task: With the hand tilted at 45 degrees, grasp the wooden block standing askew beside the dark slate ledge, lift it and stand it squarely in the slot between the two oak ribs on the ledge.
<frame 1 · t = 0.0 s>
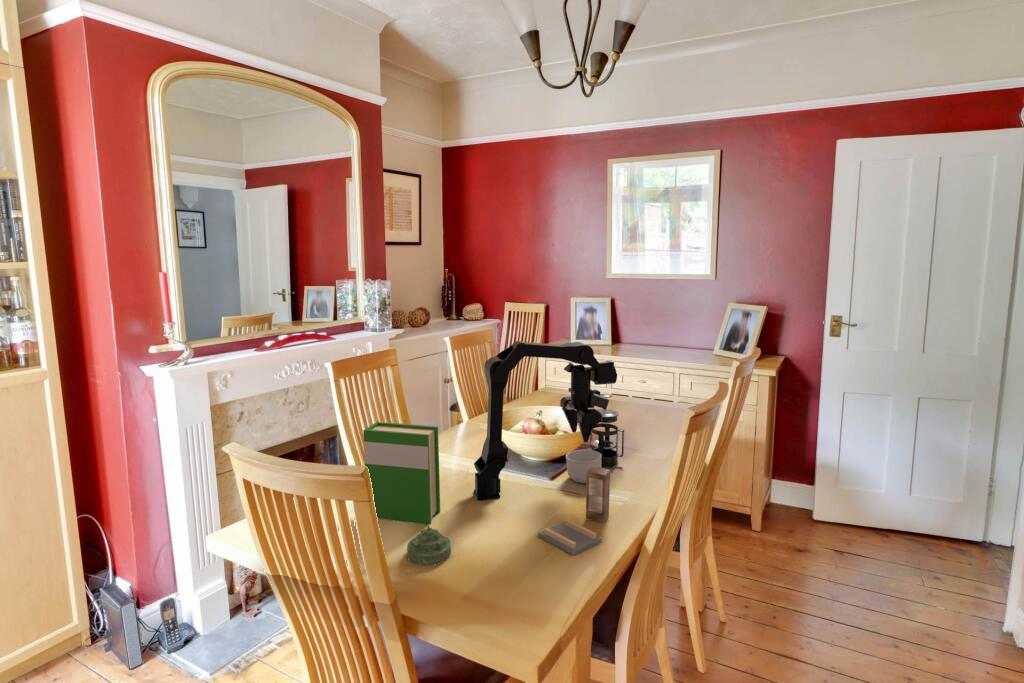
hand: (579, 437, 173), 15 cm above the table, tool pointing down, fingers open, 9 cm apart
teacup: (585, 478, 180), on the table
wooden block: (597, 517, 154), on the table
decorative artifact: (429, 555, 136), on the table
ledge: (569, 538, 143), on the table
hardback book: (404, 515, 156), on the table
french press: (605, 463, 192), on the table
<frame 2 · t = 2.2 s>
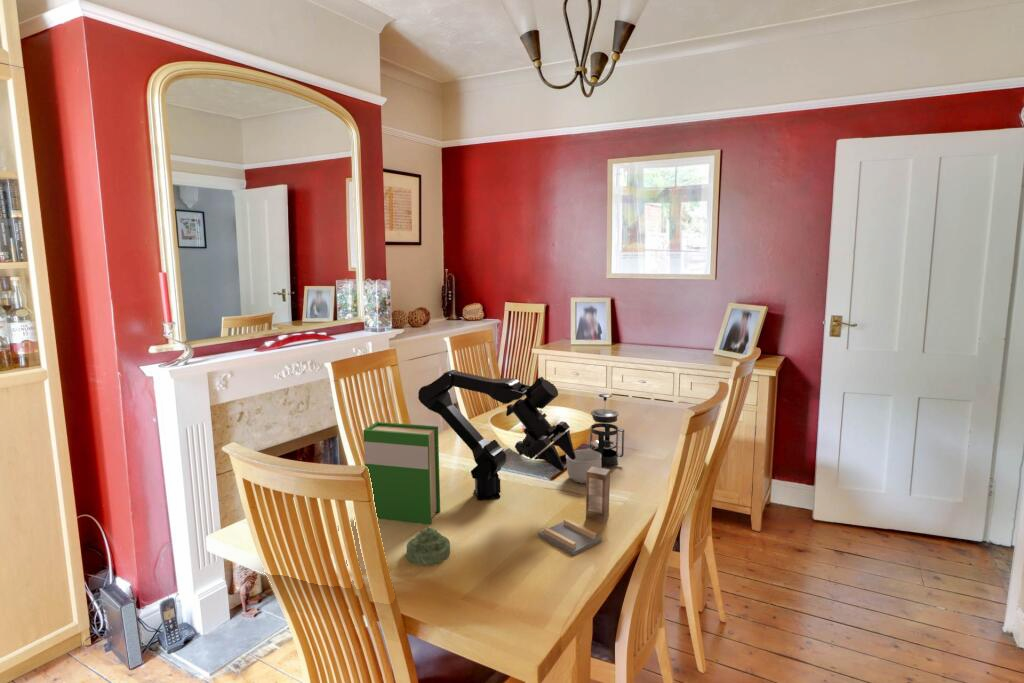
hand: (568, 464, 155), 13 cm above the table, tool tilted 45°, fingers open, 9 cm apart
nothing on the table moved.
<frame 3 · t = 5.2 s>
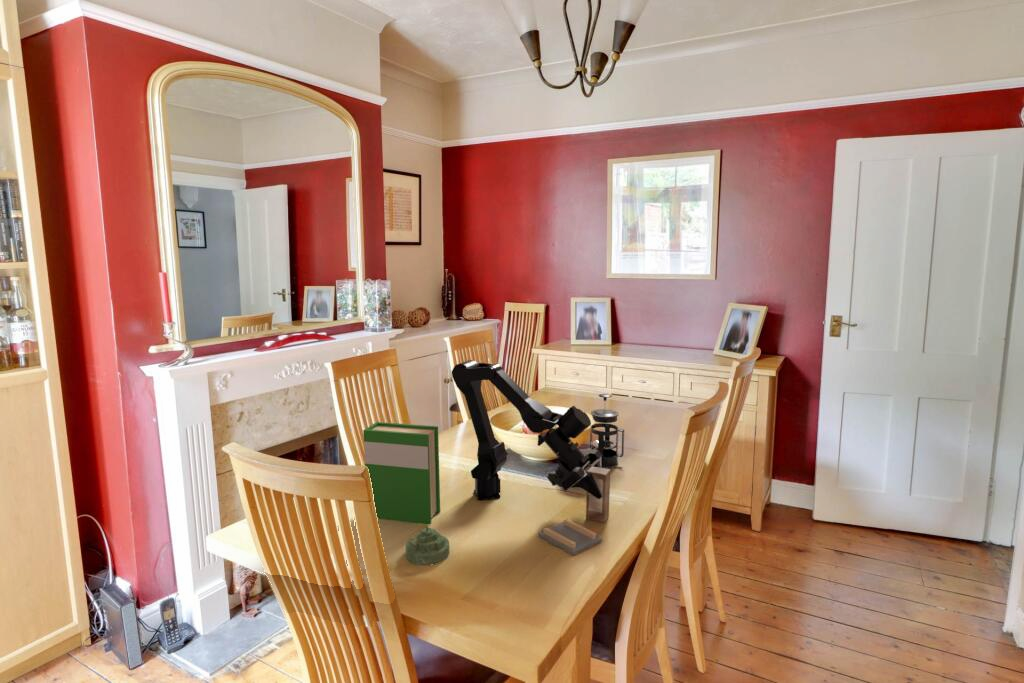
hand: (603, 494, 152), 7 cm above the table, tool tilted 45°, fingers closed on wooden block, 4 cm apart
wooden block: (597, 517, 154), on the table, touching gripper
everything else where it was.
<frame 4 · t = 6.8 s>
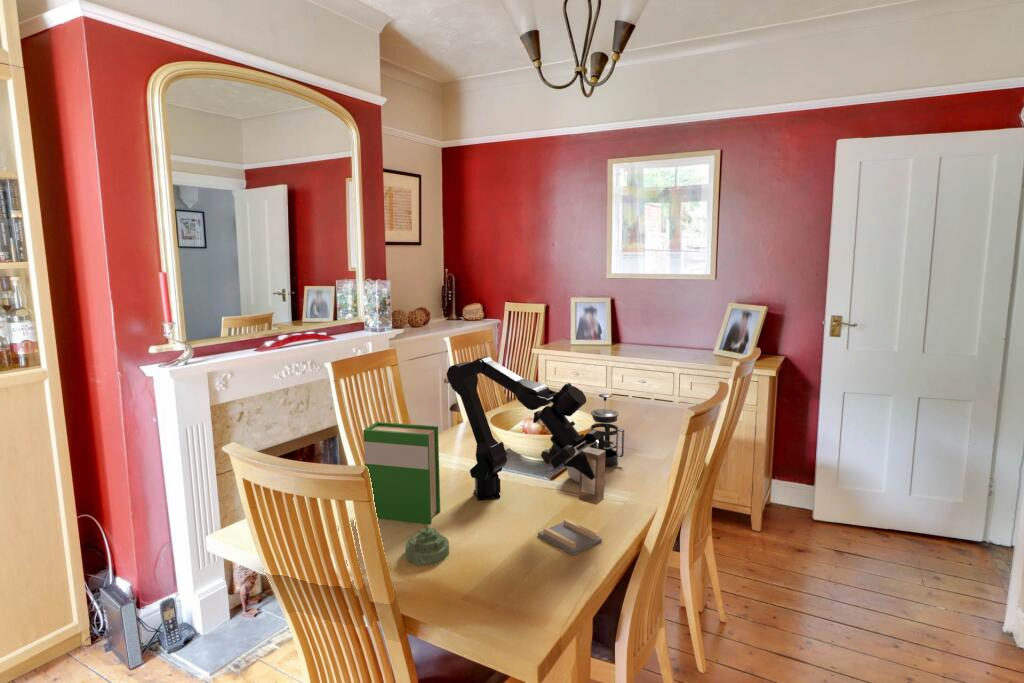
hand: (597, 476, 147), 13 cm above the table, tool tilted 45°, fingers closed on wooden block, 4 cm apart
wooden block: (591, 499, 149), point 7 cm above the table, touching gripper
everything else where it was.
when the fingers open (9 cm above the table, at t = 8.7 s): wooden block drops 1 cm, resting on ledge.
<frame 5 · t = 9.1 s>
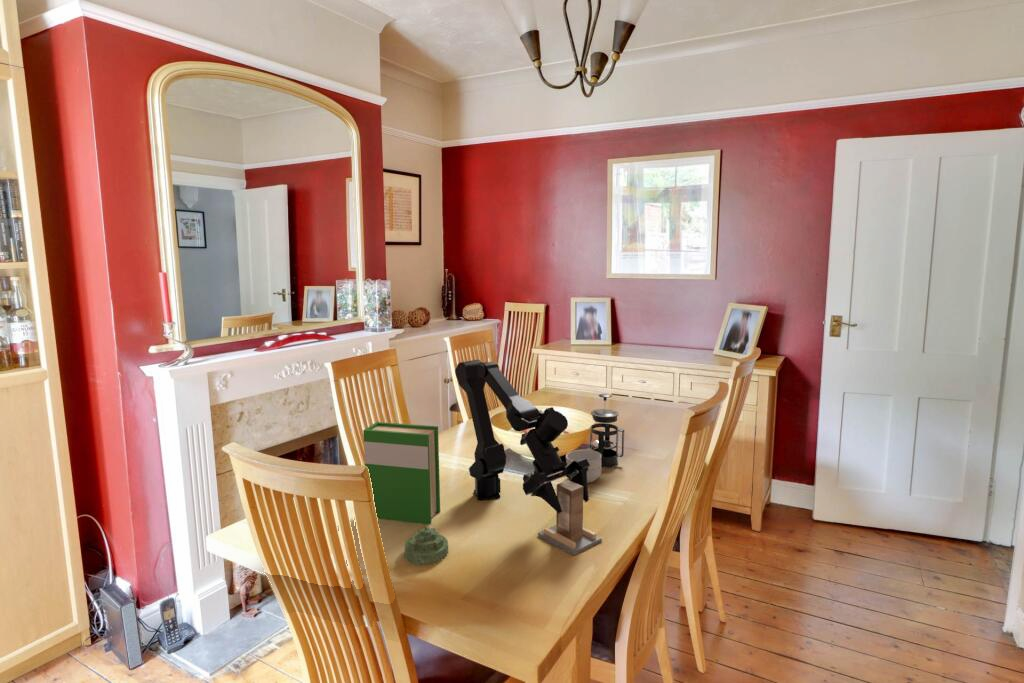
hand: (574, 506, 141), 9 cm above the table, tool tilted 45°, fingers open, 9 cm apart
wooden block: (569, 535, 143), point 1 cm above the table, touching ledge
everything else where it was.
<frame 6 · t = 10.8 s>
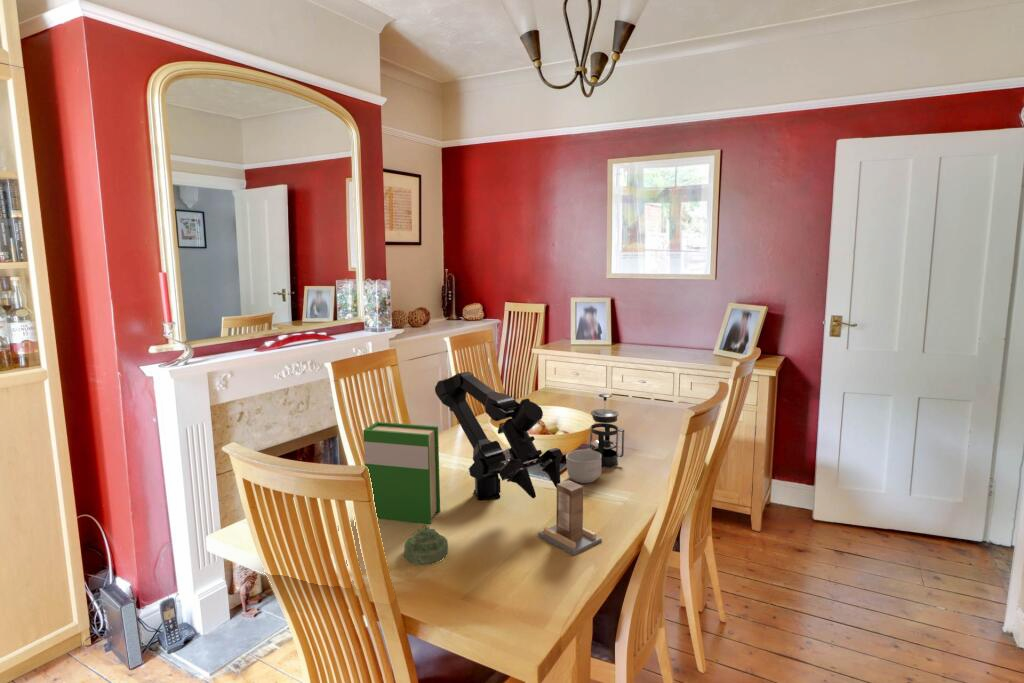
hand: (547, 493, 148), 9 cm above the table, tool tilted 45°, fingers open, 9 cm apart
nothing on the table moved.
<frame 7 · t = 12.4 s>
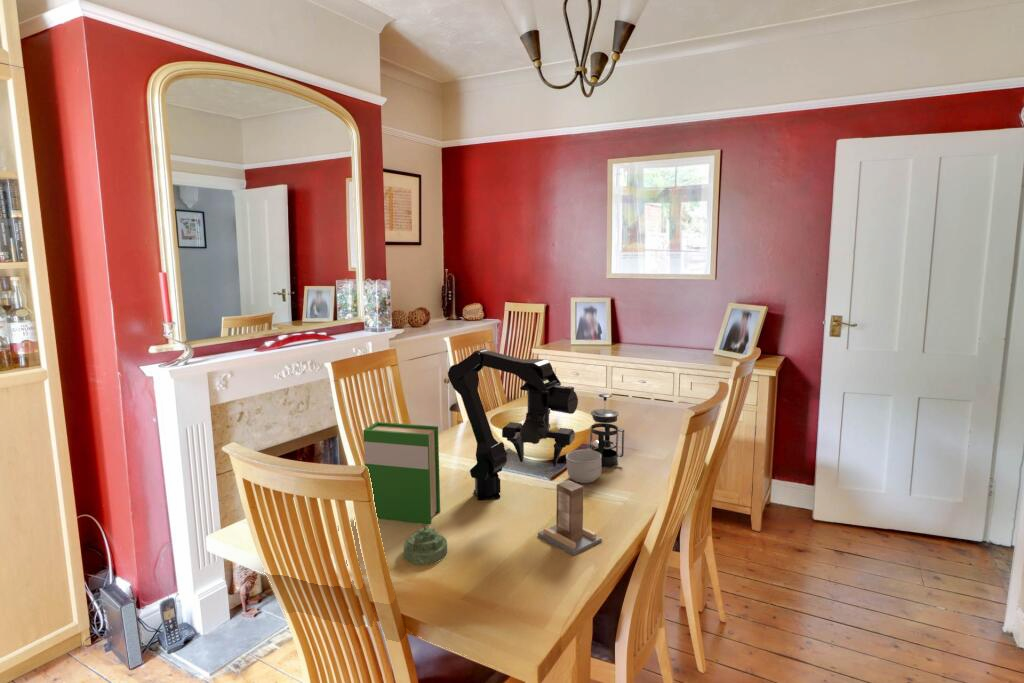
hand: (537, 464, 157), 13 cm above the table, tool pointing down, fingers open, 9 cm apart
nothing on the table moved.
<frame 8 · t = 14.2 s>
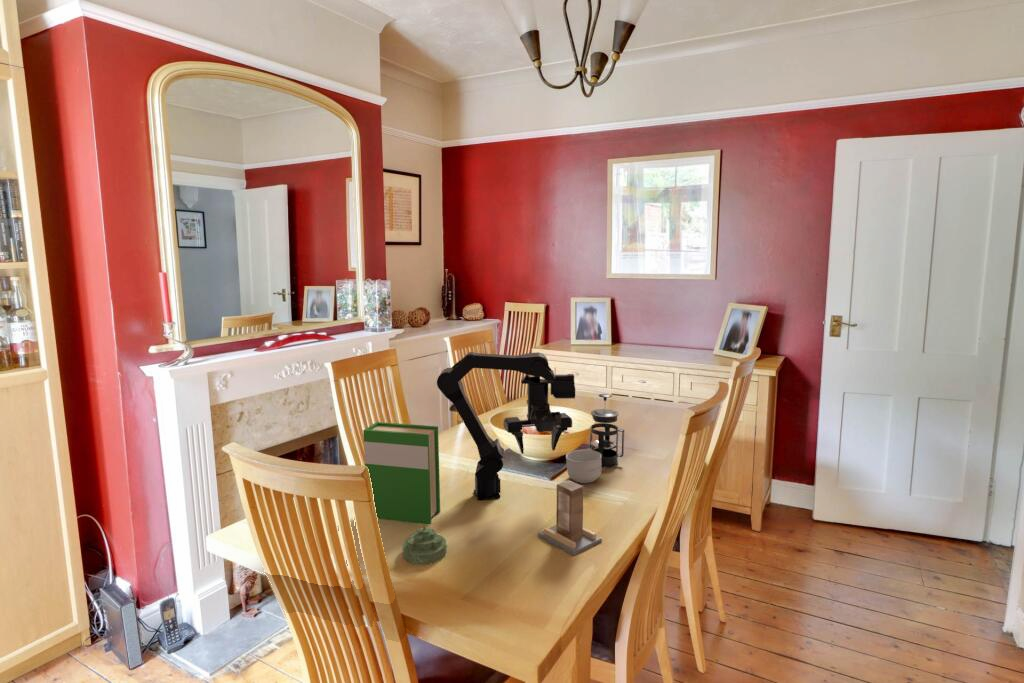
hand: (537, 451, 166), 13 cm above the table, tool pointing down, fingers open, 9 cm apart
at the end: wooden block inside the target area on the ledge (0.1 cm from its centre), point 0.8 cm above the ledge's base; wooden block tilted 0°; the gripper is holding nothing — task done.
